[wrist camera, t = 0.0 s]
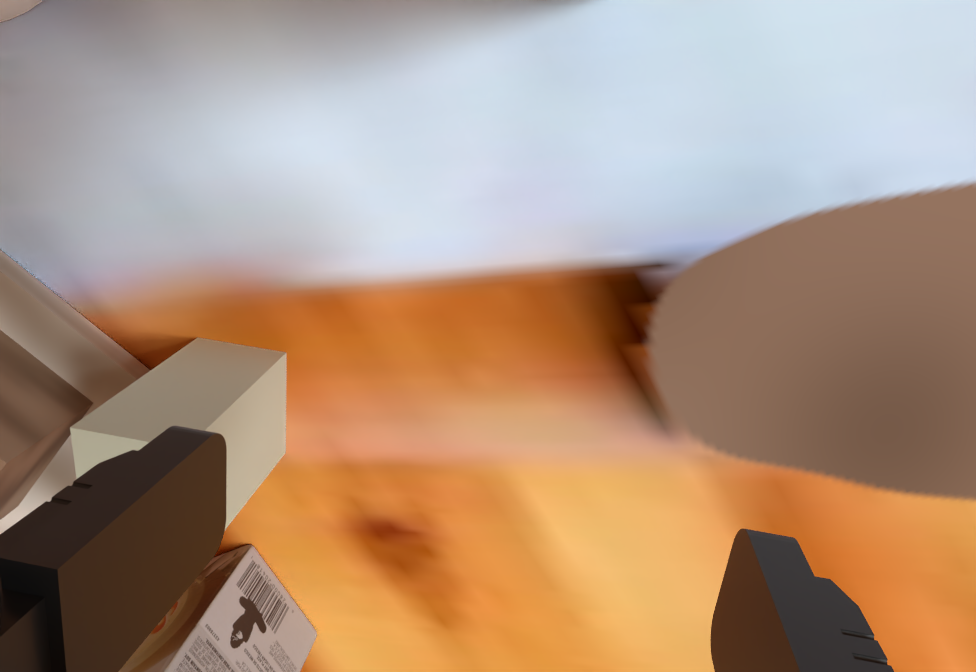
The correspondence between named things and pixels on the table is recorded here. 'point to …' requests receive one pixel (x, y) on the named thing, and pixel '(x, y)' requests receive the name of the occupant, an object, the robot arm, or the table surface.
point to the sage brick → (199, 412)
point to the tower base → (64, 356)
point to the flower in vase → (15, 8)
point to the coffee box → (229, 623)
